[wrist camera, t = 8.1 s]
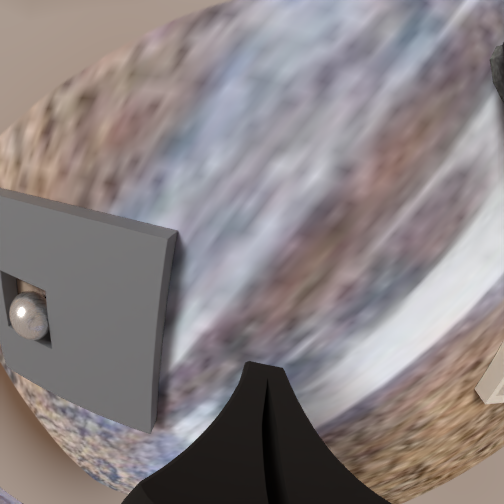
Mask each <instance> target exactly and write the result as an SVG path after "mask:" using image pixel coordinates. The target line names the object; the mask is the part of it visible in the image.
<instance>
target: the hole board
mask: <svg viewBox="0 0 504 504" xmlns="http://www.w3.org/2000/svg"><path fill="white" fill-rule="evenodd" d="M177 232H178V231H177V230H173V229H169V228H164V227H160V226H156V225H152V224H148V223H144V222H140V221H136V220H132V219H127V218H123V217H119V216H115V215H111V214H107V213H103V212H98V211H94V210H90V209H86V208H82V207H78V206H74V205H69V204H65V203H61V202H57V201H53V200H49V199H45V198H40V197H36V196H32V195H28V194H24V193H19V192H15V191H11V190H7V189H3V188H0V344H1V348H2V351H3V355H4V358H5V362H6V365H7V367H8V368H10V369H11V370H13V371H15V372H16V373H18V374H20V375H21V376H23V377H25V378H26V379H28V380H30V381H31V382H33V383H35V384H37V385H39V386H40V387H42V388H44V389H46V390H48V391H50V392H51V393H53V394H55V395H57V396H59V397H61V398H63V399H65V400H67V401H69V402H71V403H74V404H76V405H78V406H80V407H82V408H84V409H87V410H89V411H91V412H93V413H96V414H98V415H100V416H103V417H105V418H108V419H110V420H113V421H115V422H118V423H120V424H123V425H126V426H129V427H131V428H134V429H137V430H140V431H143V432H146V433H149V434H151V432H152V429H153V427H154V424H155V422H156V419H157V402H158V387H159V374H160V362H161V351H162V341H163V331H164V322H165V314H166V306H167V298H168V290H169V283H170V276H171V269H172V263H173V256H174V250H175V244H176V238H177ZM16 278H18V279H20V280H22V281H25V282H27V283H29V284H31V285H34V286H36V287H38V288H41V289H43V290H45V291H46V302H47V312H48V321H49V329H50V331H49V332H48V333H47V334H46V335H45V336H44V337H42V338H41V339H38V340H28V339H25V338H23V337H21V336H20V335H19V334H18V333H17V332H16V331H15V330H14V328H13V326H12V324H11V321H10V316H9V311H10V306H11V303H12V301H13V300H14V298H15V297H16V296H17V295H18V291H17V282H16Z"/></svg>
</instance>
